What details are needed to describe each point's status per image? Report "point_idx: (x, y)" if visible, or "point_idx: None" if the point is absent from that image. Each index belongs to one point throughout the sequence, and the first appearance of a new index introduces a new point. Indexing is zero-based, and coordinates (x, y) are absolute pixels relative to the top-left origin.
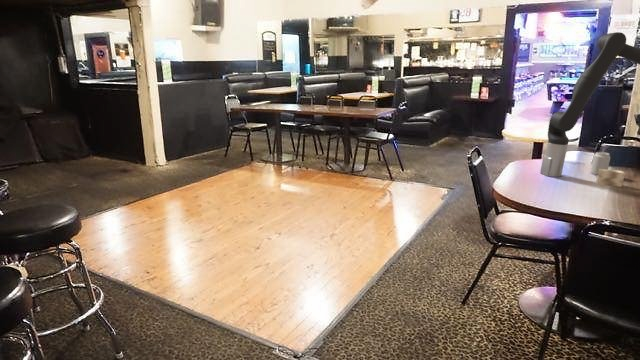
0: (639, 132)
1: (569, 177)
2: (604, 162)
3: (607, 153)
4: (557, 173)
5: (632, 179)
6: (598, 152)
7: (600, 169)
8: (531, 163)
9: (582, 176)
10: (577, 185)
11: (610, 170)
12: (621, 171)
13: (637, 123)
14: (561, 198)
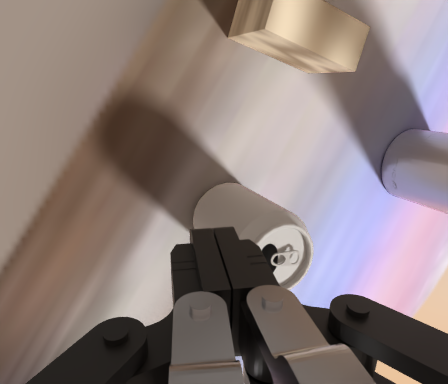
0: (255, 246)
1: (367, 135)
2: (264, 201)
3: None
4: (423, 130)
5: (85, 151)
6: (285, 286)
7: (357, 57)
8: None
9: (310, 161)
10: (406, 14)
11: (322, 38)
12: (275, 18)
13: (372, 371)
14: None
